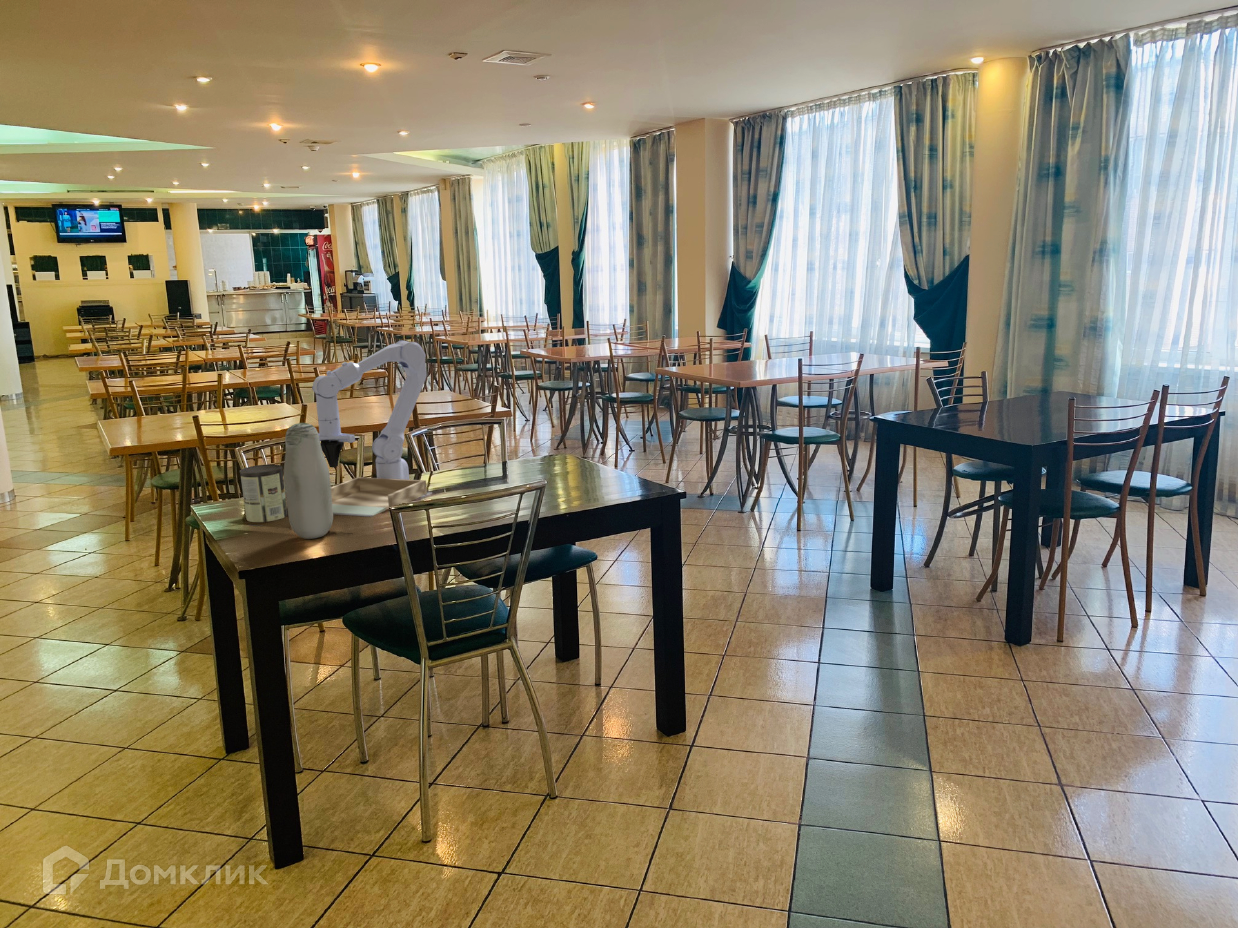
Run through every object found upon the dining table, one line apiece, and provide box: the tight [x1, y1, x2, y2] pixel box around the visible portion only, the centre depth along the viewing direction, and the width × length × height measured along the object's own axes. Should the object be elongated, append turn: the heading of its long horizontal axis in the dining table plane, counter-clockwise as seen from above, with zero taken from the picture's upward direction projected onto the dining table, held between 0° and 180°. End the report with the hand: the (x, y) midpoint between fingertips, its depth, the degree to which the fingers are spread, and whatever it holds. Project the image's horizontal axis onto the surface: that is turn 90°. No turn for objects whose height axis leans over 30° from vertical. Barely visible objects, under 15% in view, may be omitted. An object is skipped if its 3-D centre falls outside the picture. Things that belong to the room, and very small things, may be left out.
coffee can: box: [239, 463, 288, 527], centre depth 230 cm, size 10×10×14 cm
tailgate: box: [332, 504, 387, 518], centre depth 234 cm, size 1×19×7 cm
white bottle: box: [283, 422, 334, 540], centre depth 212 cm, size 10×10×28 cm
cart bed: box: [331, 476, 428, 510], centre depth 246 cm, size 17×22×5 cm
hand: (333, 466), depth 250 cm, fingers closed
